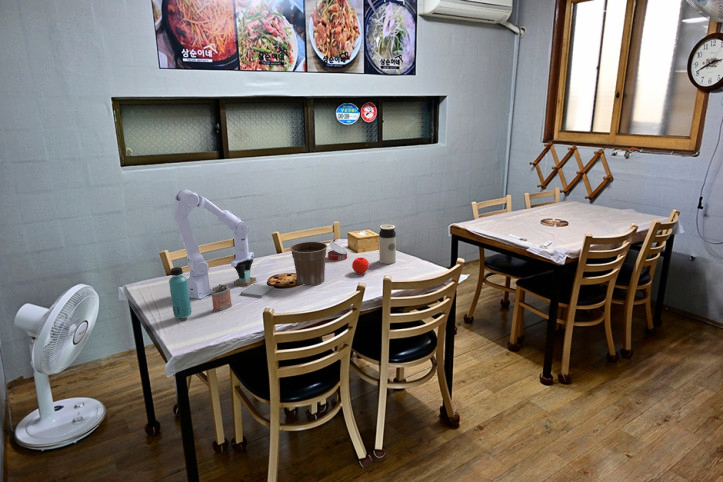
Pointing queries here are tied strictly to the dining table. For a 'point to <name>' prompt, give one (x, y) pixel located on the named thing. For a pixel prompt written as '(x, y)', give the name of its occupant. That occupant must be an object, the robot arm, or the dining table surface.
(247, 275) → the peg
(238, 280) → the collar
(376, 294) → the dining table surface
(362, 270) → the apple
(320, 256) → the plant pot
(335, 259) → the canned food
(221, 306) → the crushed red tin
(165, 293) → the dining table surface
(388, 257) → the travel mug
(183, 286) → the beverage bottle
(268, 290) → the mat
